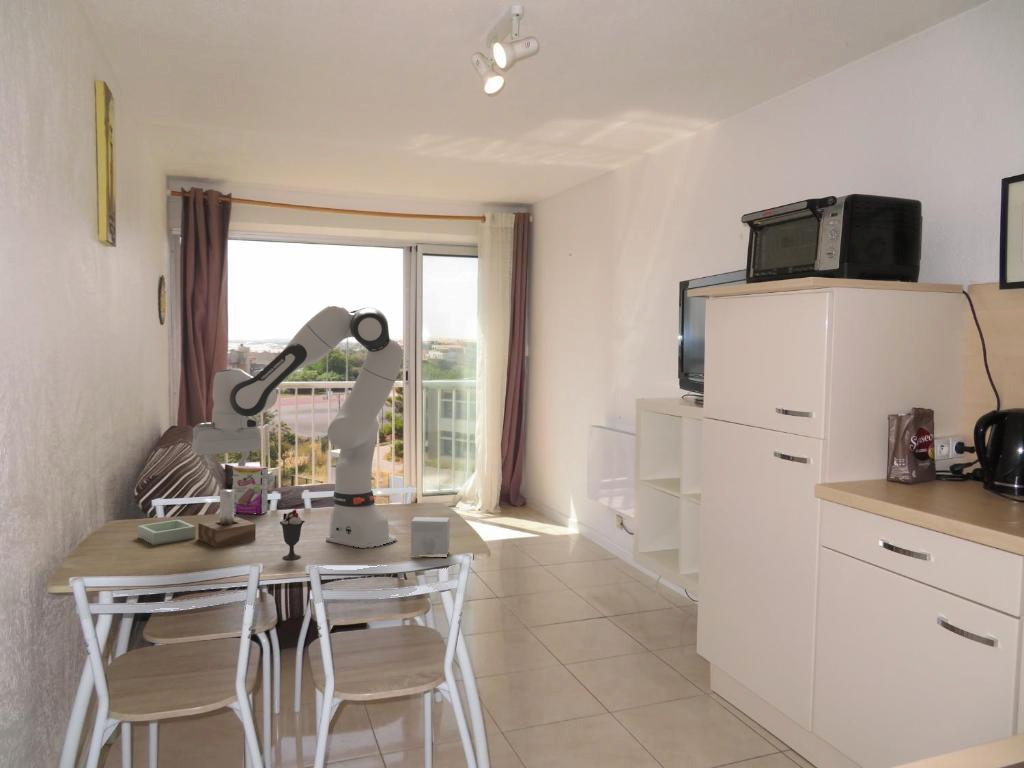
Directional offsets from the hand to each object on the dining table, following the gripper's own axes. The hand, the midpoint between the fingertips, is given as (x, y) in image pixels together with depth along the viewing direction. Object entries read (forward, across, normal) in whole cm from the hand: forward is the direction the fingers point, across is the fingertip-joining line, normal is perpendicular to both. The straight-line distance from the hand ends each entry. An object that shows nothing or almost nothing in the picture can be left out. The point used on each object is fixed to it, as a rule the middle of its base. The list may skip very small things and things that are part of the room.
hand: (226, 467), depth 213 cm
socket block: (+22, 0, 0) cm, 22 cm away
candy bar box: (+22, +22, +28) cm, 42 cm away
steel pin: (+22, 0, 0) cm, 22 cm away
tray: (+22, -12, +14) cm, 29 cm away
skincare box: (+21, +34, -54) cm, 68 cm away
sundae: (+22, +4, -30) cm, 38 cm away
